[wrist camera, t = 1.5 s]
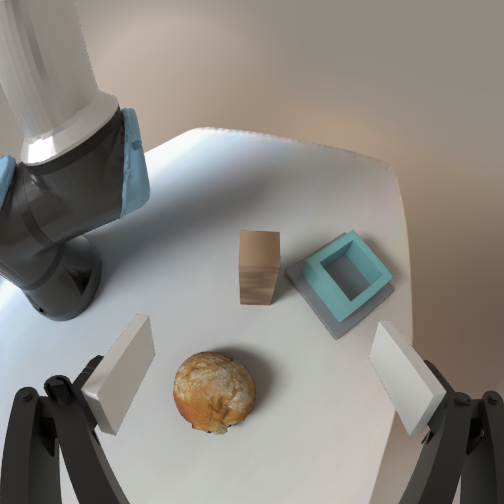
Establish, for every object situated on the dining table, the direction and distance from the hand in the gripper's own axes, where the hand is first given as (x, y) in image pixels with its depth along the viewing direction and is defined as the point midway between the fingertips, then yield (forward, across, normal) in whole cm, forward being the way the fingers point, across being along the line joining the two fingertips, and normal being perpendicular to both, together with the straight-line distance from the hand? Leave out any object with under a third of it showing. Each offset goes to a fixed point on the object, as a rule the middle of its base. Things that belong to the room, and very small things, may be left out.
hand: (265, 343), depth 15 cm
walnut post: (+22, 0, -7) cm, 23 cm away
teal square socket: (+24, +12, -6) cm, 27 cm away
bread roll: (+13, -5, -17) cm, 22 cm away
